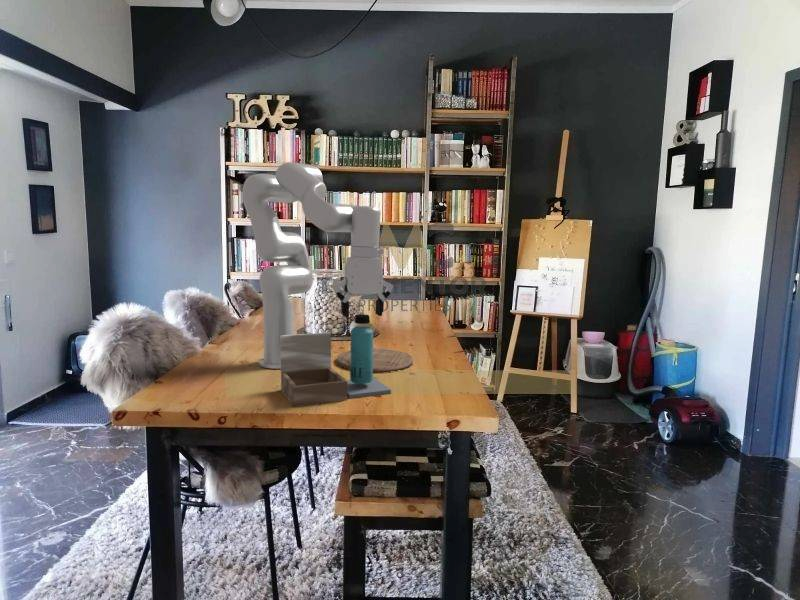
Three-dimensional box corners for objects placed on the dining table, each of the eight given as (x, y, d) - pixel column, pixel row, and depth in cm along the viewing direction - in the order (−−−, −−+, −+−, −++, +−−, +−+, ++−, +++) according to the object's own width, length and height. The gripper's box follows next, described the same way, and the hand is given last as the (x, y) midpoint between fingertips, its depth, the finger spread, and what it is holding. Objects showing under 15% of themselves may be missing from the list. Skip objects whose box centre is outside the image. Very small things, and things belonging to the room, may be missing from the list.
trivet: (404, 377, 159) (404, 371, 159) (326, 370, 164) (326, 364, 164) (418, 356, 184) (418, 351, 183) (349, 351, 189) (350, 346, 188)
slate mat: (335, 385, 148) (335, 381, 148) (374, 380, 153) (374, 377, 153) (349, 398, 138) (349, 394, 138) (391, 393, 143) (391, 389, 143)
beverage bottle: (373, 382, 149) (374, 312, 146) (372, 389, 142) (374, 317, 139) (350, 381, 149) (351, 312, 146) (348, 389, 142) (349, 316, 139)
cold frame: (280, 389, 144) (280, 335, 141) (329, 383, 149) (330, 332, 147) (293, 406, 130) (293, 347, 128) (346, 400, 136) (347, 343, 134)
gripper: (388, 252, 147) (385, 312, 150) (329, 251, 140) (327, 314, 143) (399, 254, 140) (396, 317, 143) (338, 253, 133) (336, 319, 136)
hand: (362, 315), depth 143 cm, fingers open, 9 cm apart
